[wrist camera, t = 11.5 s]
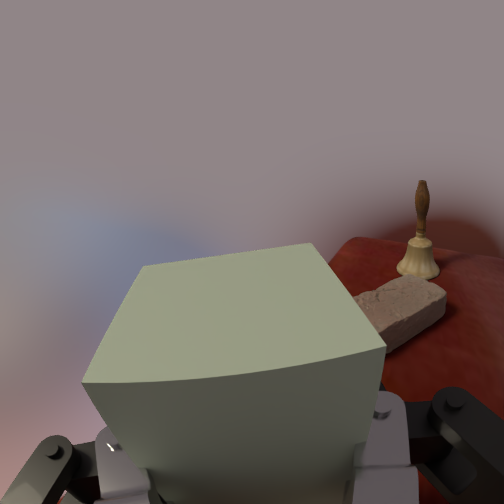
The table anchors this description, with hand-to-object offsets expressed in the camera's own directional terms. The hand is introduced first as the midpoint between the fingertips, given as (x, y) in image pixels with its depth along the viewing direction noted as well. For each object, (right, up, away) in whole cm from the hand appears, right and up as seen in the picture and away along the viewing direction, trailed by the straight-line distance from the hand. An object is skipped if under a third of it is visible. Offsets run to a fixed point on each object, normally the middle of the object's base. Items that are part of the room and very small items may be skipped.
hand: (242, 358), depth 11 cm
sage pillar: (+1, -7, 0) cm, 7 cm away
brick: (+18, -6, +27) cm, 34 cm away
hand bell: (+30, 0, +40) cm, 50 cm away
